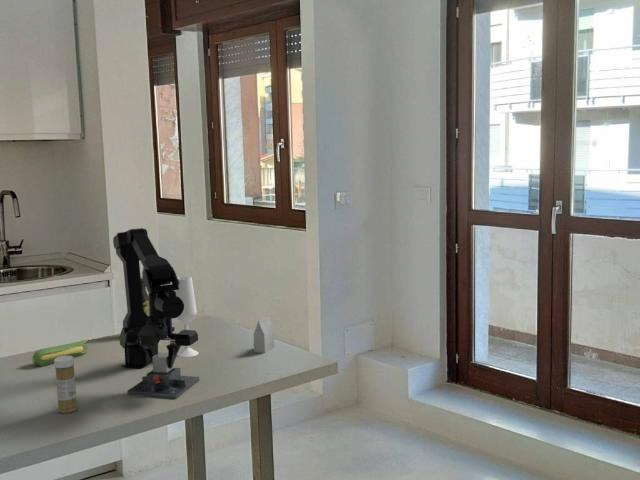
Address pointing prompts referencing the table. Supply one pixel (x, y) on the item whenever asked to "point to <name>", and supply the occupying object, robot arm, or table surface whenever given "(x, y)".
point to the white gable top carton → (264, 336)
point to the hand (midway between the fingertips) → (163, 367)
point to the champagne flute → (186, 309)
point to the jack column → (161, 364)
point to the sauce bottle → (145, 298)
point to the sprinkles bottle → (65, 384)
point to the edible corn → (58, 352)
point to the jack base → (163, 385)
